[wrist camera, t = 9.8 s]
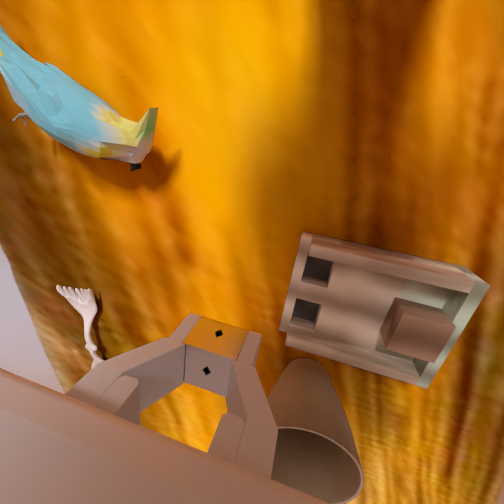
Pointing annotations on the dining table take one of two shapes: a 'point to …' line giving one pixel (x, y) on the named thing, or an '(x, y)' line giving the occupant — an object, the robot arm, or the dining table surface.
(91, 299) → the white plastic spork
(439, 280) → the tray
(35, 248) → the dining table surface
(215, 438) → the robot arm
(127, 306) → the dining table surface
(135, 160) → the decorative bird
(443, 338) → the walnut block
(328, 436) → the plant pot
